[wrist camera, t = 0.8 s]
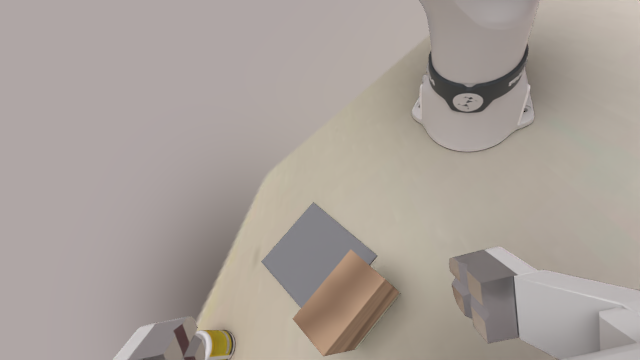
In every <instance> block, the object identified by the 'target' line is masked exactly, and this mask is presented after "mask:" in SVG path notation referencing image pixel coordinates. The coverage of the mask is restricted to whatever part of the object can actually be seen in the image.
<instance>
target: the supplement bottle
mask: <svg viewBox="0 0 640 360" xmlns="http://www.w3.org/2000/svg"><path fill="white" fill-rule="evenodd" d="M195 335H196V336H197V337H199V338H200V339H201V340H202V341H203V344H204V348H205V360H229V359H230V357H231V356H232V354H233V352H234V348H235V340H234V337H233V335H232V334H231V333H230V332H229V331H226V330H201V331H197V332H196V333H195Z"/></svg>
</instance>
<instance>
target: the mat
mask: <svg viewBox="0 0 640 360" xmlns="http://www.w3.org/2000/svg"><path fill="white" fill-rule="evenodd" d="M350 250H352V251H353V252H355V253H356V254H357V255H358V256H359V257H360V258H361V259H363V260H364V261H365V262H366V263H367V264H368V265H370V264H371V263H372V262H373V260H374V259H375V258H376V257H377V255H376V254H375V253H373V252H372V251H371V250H370V249H369V248H367V247H366V246H365V245H364V244H363V243H361V242H360V241H359V240H358V239H357V238H355V237H354V236H353V235H352V234H351V233H349V232H348V231H347V230H346V229H345V228H343V227H342V226H341V225H340V224H339V223H337V222H336V221H335V220H334V219H333V218H331V217H330V216H329V215H328V214H327V213H326V212H324V211H323V210H322V209H321V208H320V207H318V206H317V205H316V204H315V203H314V202H313V203H312V204H311V205H310V207H309V208H308V209H307V210H306V211H305V212H304V213H303V215H302V216H301V217H300V218H299V219H298V220H297V221H296V223H295V224H294V225H293V226H292V227H291V228H290V229H289V231H288V232H287V233H286V234H285V235H284V236H283V237H282V239H281V240H280V241H279V242H278V243H277V244H276V245H275V247H274V248H273V249H272V250H271V251H270V252H269V254H268V255H267V256H266V257H265V258H264V259H263V260H262V263H263V264H264V265H265V267H266V268H267V269H268V270H269V271H270V272H271V274H272V275H273V276H274V277H275V278H276V279H277V281H278V282H279V283H280V284H281V285H282V286H283V288H284V289H285V290H286V291H287V292H288V293H289V295H290V296H291V297H292V298H293V299H294V300H295V302H296V303H297V304H298V305H299V306H300V307H301V308H302V307H303V306H304V305H305V303H306V302H307V301H308V300H309V299H310V297H311V296H312V295H313V294H314V293H315V291H316V290H317V289H318V288H319V287H320V285H321V284H322V283H323V282H324V281H325V280H326V278H327V277H328V276H329V275H330V274H331V272H332V271H333V270H334V269H335V268H336V266H337V265H338V264H339V263H340V262H341V260H342V259H343V258H344V257H345V256H346V254H347V253H348V252H349V251H350Z"/></svg>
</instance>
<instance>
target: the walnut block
mask: <svg viewBox="0 0 640 360" xmlns="http://www.w3.org/2000/svg"><path fill="white" fill-rule="evenodd" d="M400 294H401V293H400V292H398V291H397V290H396V289H395V288H394V287H393V286H392V285H391V284H390V283H389V282H388V281H387V280H385V279H384V278H383V277H382V276H381V275H380V274H379V273H377V272H376V271H375V270H374V269H373V268H372V267H371V266H369V265H368V264H367V263H366V262H365V261H364V260H363V259H361V258H360V257H359V256H358V255H357V254H356V253H355V252H353V251H352V250H350V251H349V252H348V253H347V254H346V256H345V257H344V258H343V259H342V260H341V262H340V263H339V264H338V265H337V266H336V268H335V269H334V270H333V271H332V272H331V274H330V275H329V276H328V277H327V278H326V280H325V281H324V282H323V283H322V284H321V285H320V287H319V288H318V289H317V290H316V291H315V293H314V294H313V295H312V296H311V297H310V299H309V300H308V301H307V302H306V303H305V305H304V306H303V307H302V308H301V309H300V311H299V312H298V313H297V314H296V315H295V317H294V318H293V320H294V321H295V322H296V323H297V325H298V326H299V327H300V328H301V330H302V331H303V332H304V333H305V335H306V336H307V337H308V338H309V339H310V341H311V342H312V343H313V344H314V346H315V347H316V348H317V349H318V350H319V352H320V353H321V354H322V355H323V356H327V355H331V354H336V353H341V352H346V351H350V350H355V349H357V348H358V346H359V345H360V344H361V343H362V341H363V340H364V339H365V338H366V336H367V335H368V334H369V333H370V331H371V330H372V329H373V328H374V326H375V325H376V324H377V323H378V321H379V320H380V319H381V318H382V316H383V315H384V314H385V312H386V311H387V310H388V309H389V307H390V306H391V305H392V304H393V302H394V301H395V300H396V299H397V297H398V296H399V295H400Z"/></svg>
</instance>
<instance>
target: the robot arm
mask: <svg viewBox="0 0 640 360" xmlns="http://www.w3.org/2000/svg"><path fill="white" fill-rule="evenodd" d="M419 1H420V3H421V4H422V6H423V8H424V10H425V12H426V15H427V19H428V25H429V32H430V41H431V52H430V54H429V61H428V64H427V68H426V73H428V75H423V78H422V83H423V84H421V85H420V95H419V97H418V99H417V101H416V103H415V105H414V107H413V109H412V117H413V118H414V119H415V120H416V121H418V122H419V123H421V124H422V125H423V126H424V128H425V129H426V131H427V133H428V134H429V136H430V137H431V138H432V139H433V140H434V141H435V142H437V143H438V144H440V145H441V146H444V147H446V148H448V149H452V150H456V151H465V152H469V151H479V150H484V149H487V148H490V147H492V146H495V145H496V144H498V143H500V142H501V141H503V140H504V139H505V138H507V137H508V136H509V135H510V134H511V133H512V132H514V131H515V130H517V129H520V128H523V127H525V126H527V125H529V124H531V123H532V122H533V120H534V110H533V105H532V100H531V95H530V85H529V84H528V80H527V75H526V70H525V67H526V63H527V57H528V44H527V43H528V39H529V36H530V33H531V29H532V26H533V22H534V19H535V16H536V12H537V9H538V5H539V1H540V0H419ZM524 111H526V112H524ZM449 267H450V272H451V273H452V274H453V275H454V276H455V279H454V281H453V283H452V287H453V293H454V296H455V299H456V302H457V304H458V306H459V308H460V309H461V311H462V312H463V313H464V315H465V316H467V317H470V318H472V319H473V325H474V327H475V328H476V330H477V331H478V332H479V333H480V335H481V336H482V337H483V338H484V339H485V341H486V342H487V343H492V342H497V341H503V340H508V339H513V338H518V337H520V339H521V340H523V341H525V342H527V343H528V344H530V345H532V346H534V347H536V348H538V349H540V350H542V351H544V352H546V353H548V354H549V355H551V356H553V357H555V358H557V359H559V360H640V291H639V290H635V289H630V288H626V287H621V286H616V285H612V284H607V283H603V282H598V281H594V280H589V279H585V278H580V277H575V276H571V275H566V274H562V273H557V272H553V271H548V270H539V271H538V270H536V269H535V268H533V267H532V266H530V265H529V264H527V263H526V262H524V261H522V260H521V259H519V258H518V257H516V256H515V255H513V254H512V253H510V252H509V251H507V250H506V249H504V248H502V247H499V246H496V247H492V248H488V249H485V250H481V251H477V252H473V253H469V254H465V255H461V256H457V257H453V258H450V260H449ZM197 328H198V327H197V325H196V322H195V320H194V318H192V317H191V316H188V317H183V318H178V319H173V320H168V321H163V322H159V323H153V324H149V325H145V326H142V327H140V328H138V330H137V331H136V332H135V333H134V334H133V336H132V337H131V338H130V339H129V340H128V342H127V343H126V344H125V345H124V347H123V348H122V349H121V350H120V351H119V353H118V354H117V355H116V356H115V358H114V359H113V360H205V348H204V344H203V341H202V340H201V339H200V338H199V337H197V336H196V335H195V333H196V331H197Z"/></svg>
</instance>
